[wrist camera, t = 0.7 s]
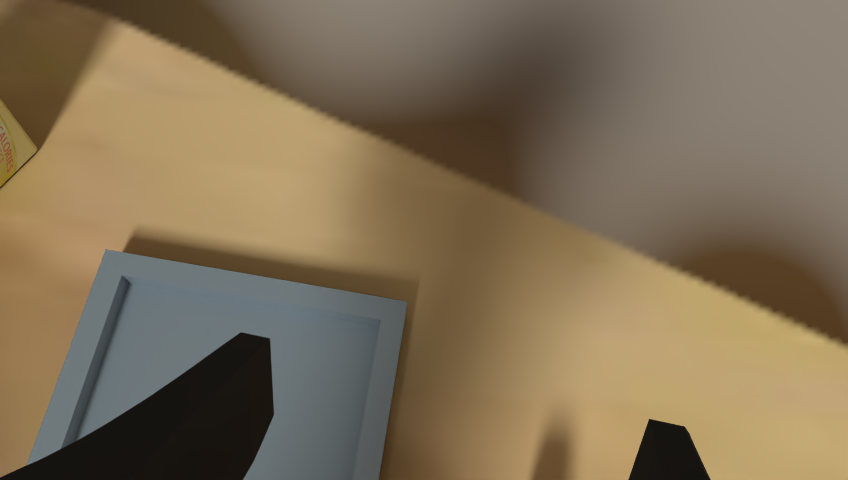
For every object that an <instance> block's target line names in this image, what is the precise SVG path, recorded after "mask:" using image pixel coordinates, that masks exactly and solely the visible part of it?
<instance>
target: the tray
mask: <svg viewBox="0 0 848 480" xmlns="http://www.w3.org/2000/svg"><path fill="white" fill-rule="evenodd" d="M407 303H408V302H407V301H402V300H396V299H390V298H384V297H378V296H373V295H367V294H361V293H355V292H350V291H344V290H338V289H332V288H326V287H321V286H315V285H309V284H303V283H298V282H292V281H286V280H280V279H274V278H269V277H263V276H257V275H251V274H246V273H240V272H234V271H228V270H222V269H217V268H211V267H205V266H199V265H193V264H188V263H182V262H176V261H170V260H165V259H159V258H153V257H147V256H141V255H136V254H130V253H124V252H118V251H113V250H107V249H106V250H105V253H104V256H103V258H102V261H101V264H100V266H99V269H98V272H97V275H96V277H95V280H94V283H93V286H92V288H91V291H90V294H89V296H88V299H87V302H86V305H85V307H84V310H83V313H82V316H81V318H80V321H79V324H78V326H77V329H76V332H75V335H74V337H73V340H72V343H71V346H70V348H69V351H68V354H67V357H66V359H65V362H64V365H63V367H62V370H61V373H60V376H59V378H58V381H57V384H56V387H55V389H54V392H53V395H52V397H51V400H50V403H49V406H48V408H47V411H46V414H45V417H44V419H43V422H42V425H41V427H40V430H39V433H38V436H37V438H36V441H35V444H34V447H33V449H32V452H31V455H30V458H29V460H28V463H27V465H29V464H31V463H33V462H36V461H38V460H40V459H42V458H44V457H46V456H48V455H50V454H52V453H54V452H56V451H58V450H60V449H62V448H63V447H65V446H67V445H69V444H71V443H73V442H75V441H77V440H79V439H81V438H82V437H84V436H86V435H88V434H89V433H91V432H93V431H95V430H96V429H98V428H100V427H102V426H103V425H105V424H107V423H108V422H110V421H111V420H113V419H115V418H116V417H118V416H119V415H121V414H123V413H124V412H126V411H127V410H129V409H131V408H132V407H134V406H135V405H137V404H139V403H140V402H142V401H143V400H145V399H146V398H148V397H149V396H151V395H152V394H154V393H155V392H157V391H158V390H160V389H161V388H162V387H164V386H165V385H167V384H168V383H170V382H171V381H173V380H174V379H176V378H177V377H178V376H180V375H181V374H183V373H184V372H186V371H187V370H188V369H190V368H191V367H193V366H194V365H195V364H197V363H198V362H200V361H201V360H202V359H204V358H205V357H207V356H208V355H209V354H211V353H212V352H213V351H215V350H216V349H218V348H219V347H220V346H222V345H223V344H225V343H226V342H227V341H229V340H230V339H232V338H233V337H235V336H236V335H238V334H239V333H241V332H243V333H247V334H252V335H257V336H262V337H266V338H270V345H271V364H272V383H273V402H274V416H273V418H272V421H271V423H270V426H269V428H268V430H267V433H266V435H265V437H264V440H263V442H262V444H261V446H260V449H259V451H258V453H257V455H256V458H255V460H254V462H253V464H252V465H251V467H250V469H249V471H248V472H247V474H246V476H245V477H244V479H243V480H379V474H380V467H381V461H382V455H383V449H384V443H385V437H386V431H387V425H388V419H389V413H390V407H391V400H392V394H393V388H394V382H395V376H396V370H397V364H398V358H399V352H400V346H401V340H402V333H403V327H404V321H405V315H406V309H407Z"/></svg>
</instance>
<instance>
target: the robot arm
mask: <svg viewBox="0 0 848 480" xmlns="http://www.w3.org/2000/svg"><path fill="white" fill-rule="evenodd" d="M273 416H274V402H273V383H272V364H271V345H270V338H266V337H262V336H257V335H252V334H247V333H243V332H241V333H239V334H238V335H236V336H235V337H233V338H232V339H230V340H229V341H227V342H226V343H225V344H223V345H222V346H220V347H219V348H218V349H216V350H215V351H213V352H212V353H211V354H209V355H208V356H207V357H205V358H204V359H202V360H201V361H200V362H198V363H197V364H195V365H194V366H193V367H191V368H190V369H188V370H187V371H186V372H184V373H183V374H181V375H180V376H178V377H177V378H176V379H174V380H173V381H171V382H170V383H168V384H167V385H165V386H164V387H162V388H161V389H160V390H158V391H157V392H155V393H154V394H152V395H151V396H149V397H148V398H146V399H145V400H143V401H142V402H140V403H139V404H137V405H135V406H134V407H132V408H131V409H129V410H127V411H126V412H124V413H123V414H121V415H119V416H118V417H116V418H115V419H113V420H111V421H110V422H108V423H107V424H105V425H103V426H102V427H100V428H98V429H96V430H95V431H93V432H91V433H89V434H88V435H86V436H84V437H82V438H81V439H79V440H77V441H75V442H73V443H71V444H69V445H67V446H65V447H63V448H62V449H60V450H58V451H56V452H54V453H52V454H50V455H48V456H46V457H44V458H42V459H40V460H38V461H36V462H33V463H31V464H29V465H27V466H25V467H22V468H20V469H18V470H16V471H14V472H11V473H9V474H7V475H5V476H3V477H0V480H243V479H244V477H245V476H246V474H247V472H248V471H249V469H250V467H251V465H252V464H253V462H254V460H255V458H256V455H257V453H258V451H259V449H260V446H261V444H262V442H263V440H264V437H265V435H266V433H267V430H268V428H269V426H270V423H271V421H272V418H273ZM629 480H710V478H709V476H708V473H707V471H706V469H705V467H704V465H703V463H702V461H701V459H700V456H699V454H698V452H697V450H696V448H695V445H694V443H693V441H692V439H691V436H690V434H689V432H688V431H687V429H686V428H685V427H684V426H679V425H675V424H670V423H665V422H660V421H656V420H651V419H649V421H648V424H647V427H646V430H645V433H644V436H643V439H642V442H641V445H640V448H639V451H638V454H637V456H636V459H635V462H634V465H633V468H632V471H631V474H630V477H629Z"/></svg>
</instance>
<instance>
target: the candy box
mask: <svg viewBox="0 0 848 480" xmlns="http://www.w3.org/2000/svg"><path fill="white" fill-rule="evenodd" d="M36 151H37V147H36V146H35V144H34V143H33V142H32V140H31V139H30V138H29V136H28V135H27V134H26V132H25V131H24V130H23V128H22V127H21V126H20V124H19V123H18V122H17V120H16V119H15V117H14V116H13V115H12V113H11V112H10V111H9V109H8V108H7V107H6V106H5V104H4V103H3V102H2V100H1V99H0V187H1V186H2V185H3V184H4V183H5V182H6V181H7V180H8V179H9V178H10V177H11V176H12V175H13V174H14V173H15V172H16V171H17V170H18V169H19V168H20V167H21V166H22V165H23V164H24V163H25V162H26V161H27V160H28V159H29V158H30V157H31V156H32V155H33V154H34V153H35V152H36Z"/></svg>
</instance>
